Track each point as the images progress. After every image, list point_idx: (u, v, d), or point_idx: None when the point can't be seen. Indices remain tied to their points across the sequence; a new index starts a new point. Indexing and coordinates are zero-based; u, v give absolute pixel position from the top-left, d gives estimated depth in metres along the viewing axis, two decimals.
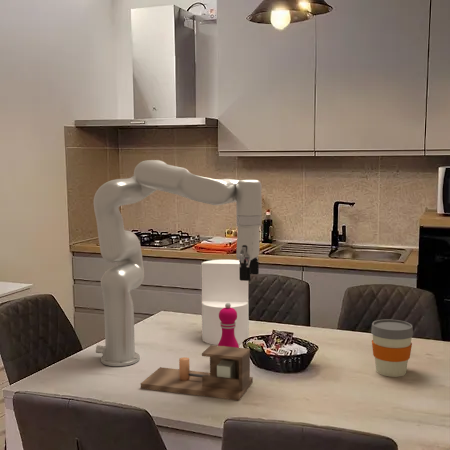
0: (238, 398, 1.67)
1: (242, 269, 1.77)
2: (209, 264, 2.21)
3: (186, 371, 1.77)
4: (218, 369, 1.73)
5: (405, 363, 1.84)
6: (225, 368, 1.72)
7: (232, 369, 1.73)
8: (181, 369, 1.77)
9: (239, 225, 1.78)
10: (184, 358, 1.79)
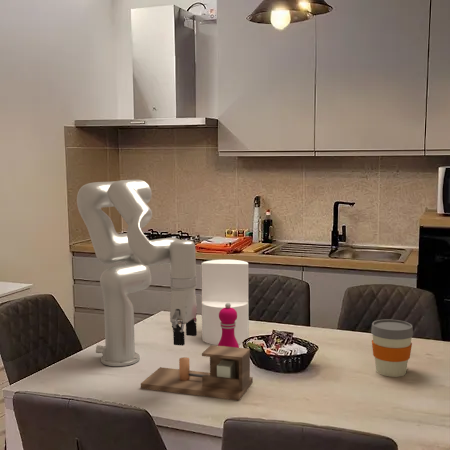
0: (238, 398, 1.67)
1: (176, 334, 1.71)
2: (209, 264, 2.21)
3: (186, 371, 1.77)
4: (218, 369, 1.73)
5: (405, 363, 1.84)
6: (225, 368, 1.72)
7: (232, 369, 1.73)
8: (181, 369, 1.77)
9: (172, 288, 1.73)
10: (184, 358, 1.79)
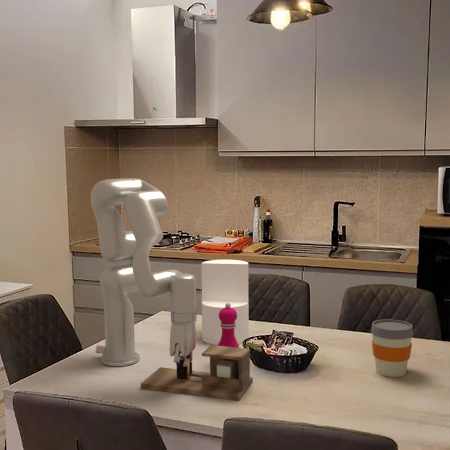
0: (238, 398, 1.67)
1: (179, 368, 1.76)
2: (209, 264, 2.21)
3: None
4: (218, 369, 1.73)
5: (405, 363, 1.84)
6: (225, 368, 1.72)
7: (232, 369, 1.73)
8: None
9: (173, 321, 1.75)
10: None
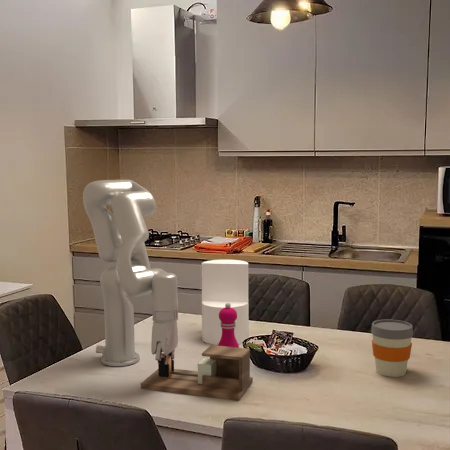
0: (238, 398, 1.67)
1: (160, 366, 1.78)
2: (209, 264, 2.21)
3: None
4: (199, 367, 1.74)
5: (405, 363, 1.84)
6: (206, 366, 1.74)
7: (213, 367, 1.75)
8: None
9: (154, 320, 1.76)
10: None
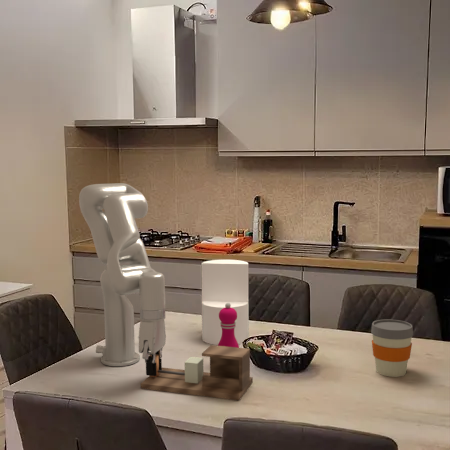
0: (238, 398, 1.67)
1: (148, 365, 1.79)
2: (209, 264, 2.21)
3: None
4: (186, 366, 1.76)
5: (405, 363, 1.84)
6: (192, 364, 1.75)
7: (199, 365, 1.76)
8: None
9: (141, 319, 1.78)
10: None
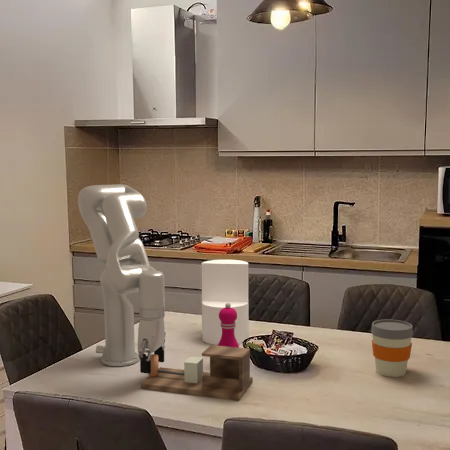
0: (238, 398, 1.67)
1: (142, 362, 1.76)
2: (209, 264, 2.21)
3: (155, 368, 1.80)
4: (186, 366, 1.76)
5: (405, 363, 1.84)
6: (192, 364, 1.75)
7: (199, 365, 1.76)
8: None
9: (141, 317, 1.78)
10: (153, 355, 1.82)
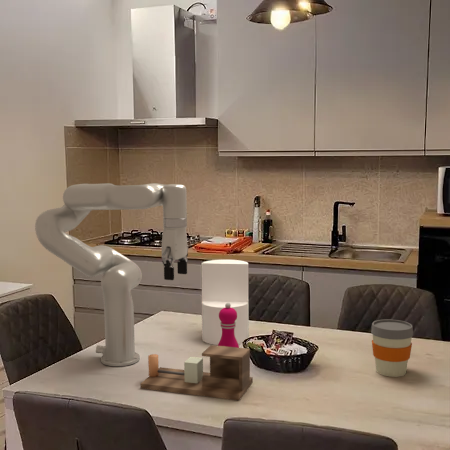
0: (238, 398, 1.67)
1: (166, 269, 1.87)
2: (209, 264, 2.21)
3: (155, 368, 1.80)
4: (186, 366, 1.76)
5: (405, 363, 1.84)
6: (192, 364, 1.75)
7: (199, 365, 1.76)
8: (150, 366, 1.80)
9: (164, 227, 1.88)
10: (153, 355, 1.82)
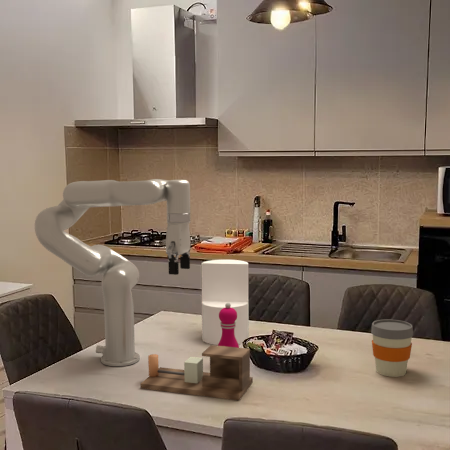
0: (238, 398, 1.67)
1: (170, 264, 1.88)
2: (209, 264, 2.21)
3: (155, 368, 1.80)
4: (186, 366, 1.76)
5: (405, 363, 1.84)
6: (192, 364, 1.75)
7: (199, 365, 1.76)
8: (150, 366, 1.80)
9: (168, 222, 1.90)
10: (153, 355, 1.82)
